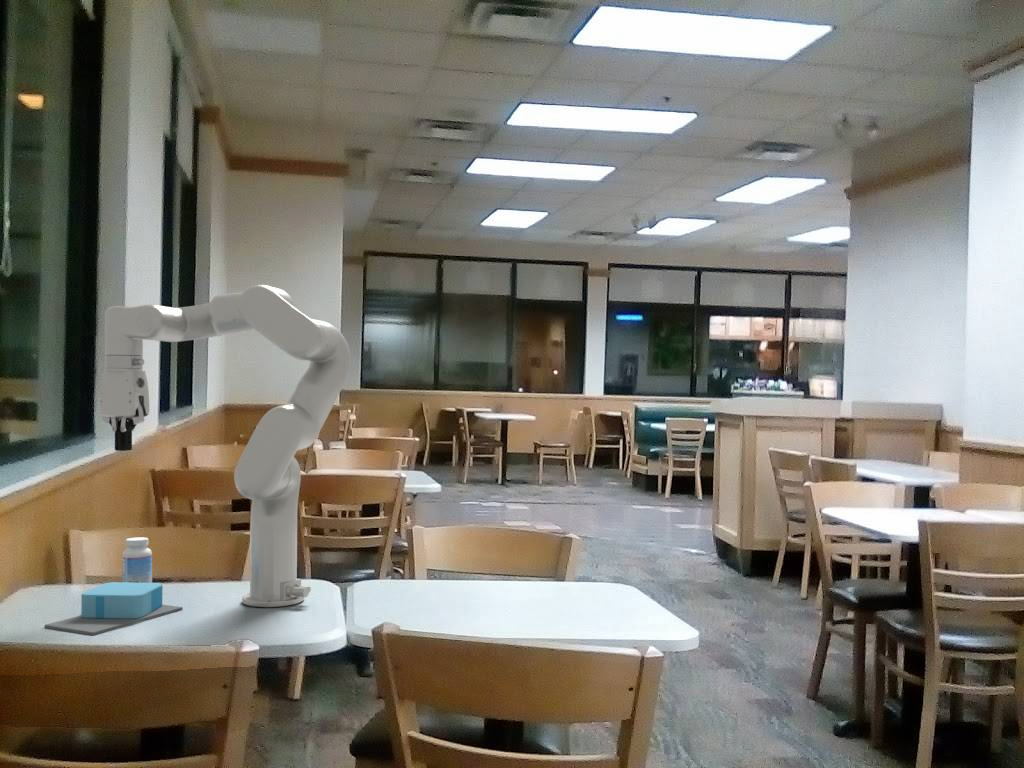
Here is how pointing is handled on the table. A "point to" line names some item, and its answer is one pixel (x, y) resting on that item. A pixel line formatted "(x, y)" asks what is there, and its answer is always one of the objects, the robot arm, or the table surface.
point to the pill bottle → (137, 561)
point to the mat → (105, 622)
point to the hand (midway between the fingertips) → (123, 450)
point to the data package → (121, 600)
